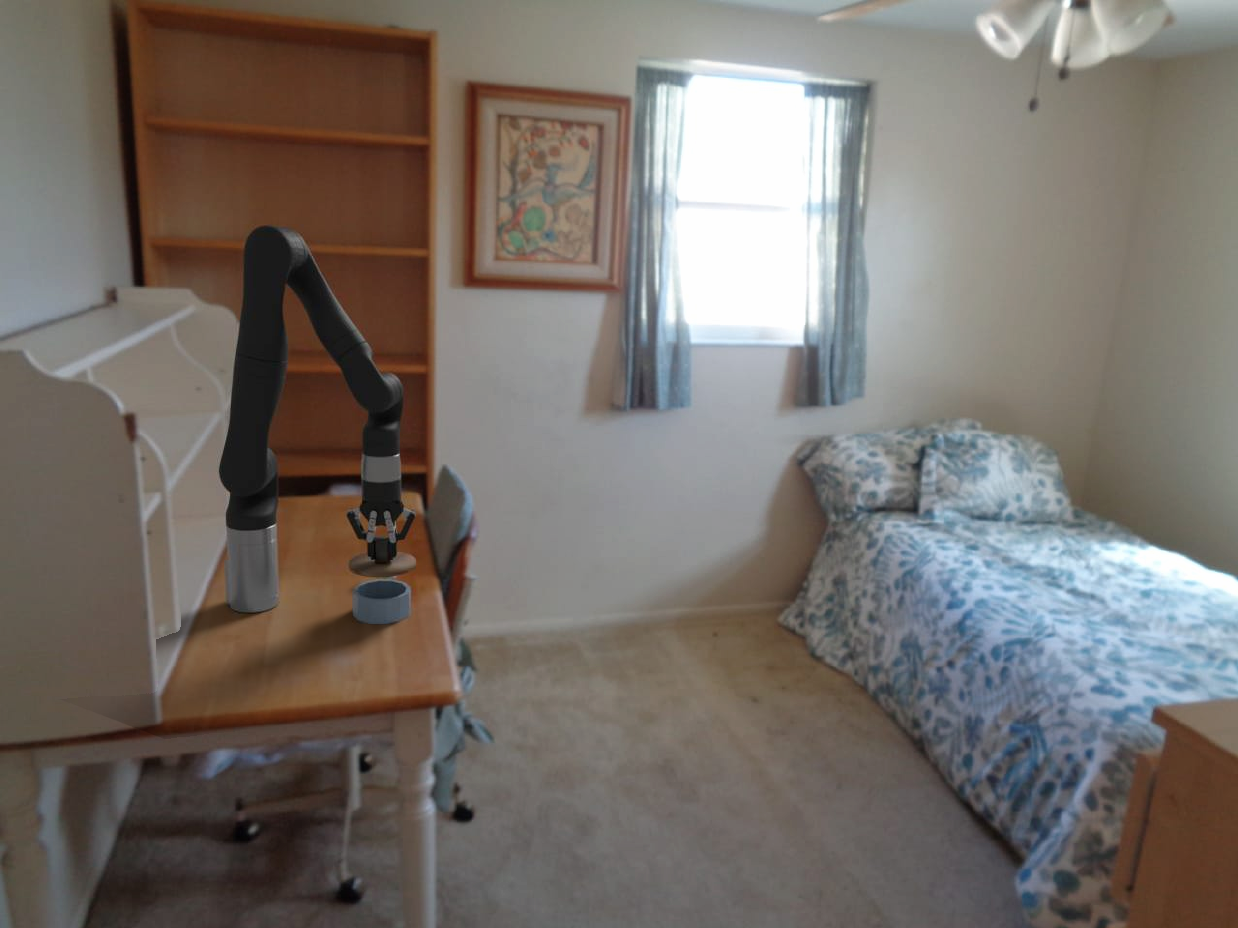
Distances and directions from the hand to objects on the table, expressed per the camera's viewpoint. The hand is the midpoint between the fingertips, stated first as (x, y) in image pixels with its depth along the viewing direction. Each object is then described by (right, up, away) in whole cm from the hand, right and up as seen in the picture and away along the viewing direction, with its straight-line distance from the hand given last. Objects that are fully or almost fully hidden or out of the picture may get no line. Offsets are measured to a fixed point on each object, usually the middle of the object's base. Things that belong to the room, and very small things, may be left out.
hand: (382, 558), depth 172 cm
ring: (-4, -7, +19) cm, 21 cm away
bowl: (-1, -11, +3) cm, 12 cm away
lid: (0, -2, 0) cm, 2 cm away
